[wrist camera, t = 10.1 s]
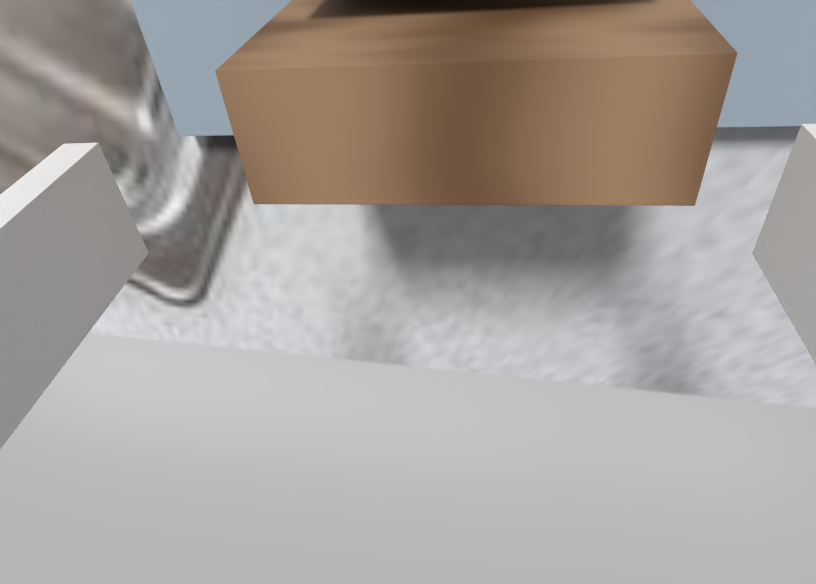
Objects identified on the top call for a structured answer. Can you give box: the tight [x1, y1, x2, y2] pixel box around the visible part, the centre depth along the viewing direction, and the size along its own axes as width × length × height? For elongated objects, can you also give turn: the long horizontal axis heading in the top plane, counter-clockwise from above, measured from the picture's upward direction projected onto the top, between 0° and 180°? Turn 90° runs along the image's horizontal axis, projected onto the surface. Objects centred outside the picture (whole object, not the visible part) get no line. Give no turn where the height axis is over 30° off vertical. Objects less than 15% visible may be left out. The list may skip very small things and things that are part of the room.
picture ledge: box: [131, 0, 816, 136], centre depth 18 cm, size 24×7×6 cm, turn 94°
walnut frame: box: [215, 0, 737, 206], centre depth 16 cm, size 11×4×8 cm, turn 94°
